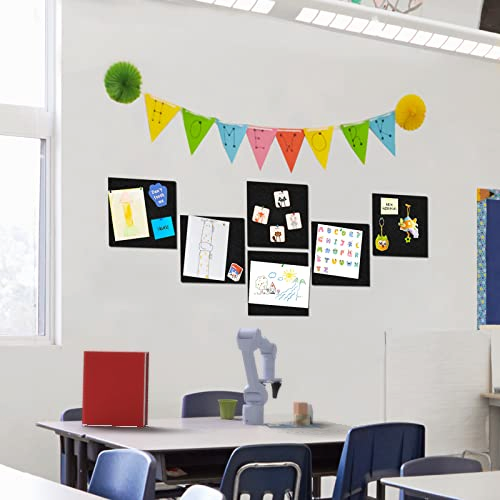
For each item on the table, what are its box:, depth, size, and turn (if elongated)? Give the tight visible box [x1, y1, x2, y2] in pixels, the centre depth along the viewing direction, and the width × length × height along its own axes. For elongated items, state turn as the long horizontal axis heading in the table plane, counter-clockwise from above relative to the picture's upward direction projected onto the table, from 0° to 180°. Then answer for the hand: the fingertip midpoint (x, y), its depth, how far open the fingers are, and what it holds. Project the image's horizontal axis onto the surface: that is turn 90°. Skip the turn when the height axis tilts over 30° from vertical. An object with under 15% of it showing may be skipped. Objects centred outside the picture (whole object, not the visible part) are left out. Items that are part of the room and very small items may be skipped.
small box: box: [307, 403, 314, 424], centre depth 454 cm, size 8×6×10 cm
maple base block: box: [293, 413, 311, 426], centre depth 444 cm, size 6×6×5 cm
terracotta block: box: [293, 401, 309, 415], centre depth 445 cm, size 4×4×5 cm
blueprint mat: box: [264, 423, 325, 429], centre depth 442 cm, size 24×16×1 cm, turn 99°
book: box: [81, 350, 150, 428], centre depth 436 cm, size 27×8×32 cm, turn 83°
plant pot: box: [217, 399, 239, 420], centre depth 476 cm, size 9×9×9 cm
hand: (268, 398), depth 465 cm, fingers open, 7 cm apart
